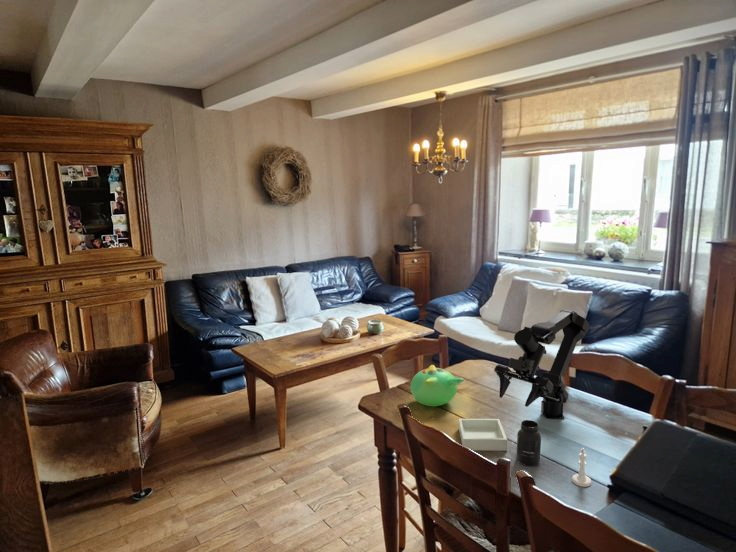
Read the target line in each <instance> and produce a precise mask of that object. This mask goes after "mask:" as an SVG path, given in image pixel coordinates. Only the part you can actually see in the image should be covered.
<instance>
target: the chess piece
mask: <svg viewBox="0 0 736 552" xmlns="http://www.w3.org/2000/svg"><path fill="white" fill-rule="evenodd" d="M578 457H579V460H578V464H579V470H578V473H576V474H573V475H572V477H571V481H572V482H573V483H574V484H575V485H577V486H578V487H579V486H580V487H583V488H585V487H586V488H587V487H590V486H591V485H592V479H591V478H590V477H589V476H587V475H586V471H585V466H587V462H586V459H587V457H588V455H587V454H586V450H585V448H584V447H581V448H580V453H578Z"/></svg>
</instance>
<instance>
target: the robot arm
mask: <svg viewBox="0 0 736 552" xmlns="http://www.w3.org/2000/svg"><path fill="white" fill-rule="evenodd" d="M561 330H562V333H563V337H562V340H561V343H560V345H559V347H558V350H557V353H556V355H555V357H554V360H553V362H552V364H551V367H550V370H548V371H547V372H546V371H543V373H542V374H541V375H537V376H535V375H536V373H537V371H539V370H540V366H539V365H540V363H541V361H542V358H543V356H544V355H547V350H546V346H545V345H550V344H552V343H553V342H554V340H555V339H556V334H557V333H558V332H560V331H561ZM589 330H590V323H589V322H588V320H587V319H586V318H585V317H583V316H581V315H579V314H578V313H577V312H576V311H575V310H569V309H560V310H559V312H558V313H557V314H556V315H554V316H553V317H551V318H550V319H548V320H547V321H546V322H537V323H535V324H533V325H531V327H529V326H524V327H523V329H520V330H518V331H517V332H516V333H515V334H514V336H513V338H514V339H513V340H514V342H515V343H516V344H517V347H518V348H519V349H520V350H521V351H522V352H523V354H522V356H519V357H518V359H517V358H514V357H510V358H509V362H508V366H506V365H502V364H500V363H498V364H497V365H496V366H495V367H494V368H493V371H494V373H495V374H496V375H497V377H498V378H499V393H498V394H499V396H498V397H499V398H500V399H503V397H504V396H505V394H506V392H507V389H508V388H509V386H510V384H511V381H510V380H512V378H513V379H516V380H519V381H522V382H525V383H529V384H531V390H530V392H529V395H528V397H527V399H526V400H525V404H524V407H527V408H528V407H529V406H530V405H532V404H533V403H534V402H535V401H536V400H537V399H539V398H542V400H541V404H540V405H541V408H540V412H541V413H542V414H543V415H544V418H545V419H565V415H564V404H567V402H568V398H569V393H568V392H567V389H565V388H566V382H565V379H564V376H565V374H566V372H567V369H568V366H569V364H570V361H571V358H572V356H573V354H574V352H575V349H576V347H577V343H578V342H580V341H581V340H582V339H583V340H584V338H585V337H586V335H587V332H589ZM542 344H545V345H542ZM511 369H512V370H511Z"/></svg>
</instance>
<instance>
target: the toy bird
mask: <svg viewBox="0 0 736 552" xmlns="http://www.w3.org/2000/svg"><path fill="white" fill-rule="evenodd" d="M463 382H465V379H464V378H461V377H455V376H454V375H453V374H452V373H451V372H450V371H448V370H446V369H443V368H440V367H436V366H435V365H434V364H431V365H429V366H428V367H427V368H424V369H422V370H420V371H418V372H417V373H416V374H415V375H414V376H413V377H412V380H411V381H410V391H411V394H412V397H413V398H414V399H415V400H416V401H417V402H418V403H420V404H421V405H424V406H427V407H441V406H444V405H446V404H448V403H450V402H451V401H452V400H453V399H454V398H455V395H456V394H457V391H458V385H460V384H462V383H463Z"/></svg>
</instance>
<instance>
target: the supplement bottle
mask: <svg viewBox="0 0 736 552" xmlns="http://www.w3.org/2000/svg"><path fill="white" fill-rule="evenodd" d="M520 425H521V426H520V429H519V430H518V431H517V435H516V454H515V455H516V457H515V459H516V460H517V462H518V463H520V464H522V465H524V466H528V467H534V466H535V467H536V466H537V465H539V464H540V462H541V450H542V435H541V433H540V432H539V424H538V422H536V421H534V420H530V419H524V420H523V421H521V423H520Z"/></svg>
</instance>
